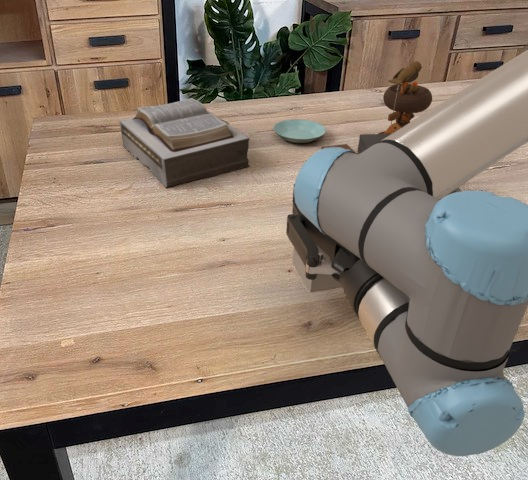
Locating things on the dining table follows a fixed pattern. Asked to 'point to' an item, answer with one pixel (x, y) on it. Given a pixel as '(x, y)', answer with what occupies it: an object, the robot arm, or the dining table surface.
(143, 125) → the bible
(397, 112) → the bird figurine
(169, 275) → the dining table surface
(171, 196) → the dining table surface
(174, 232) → the dining table surface
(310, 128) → the saucer
